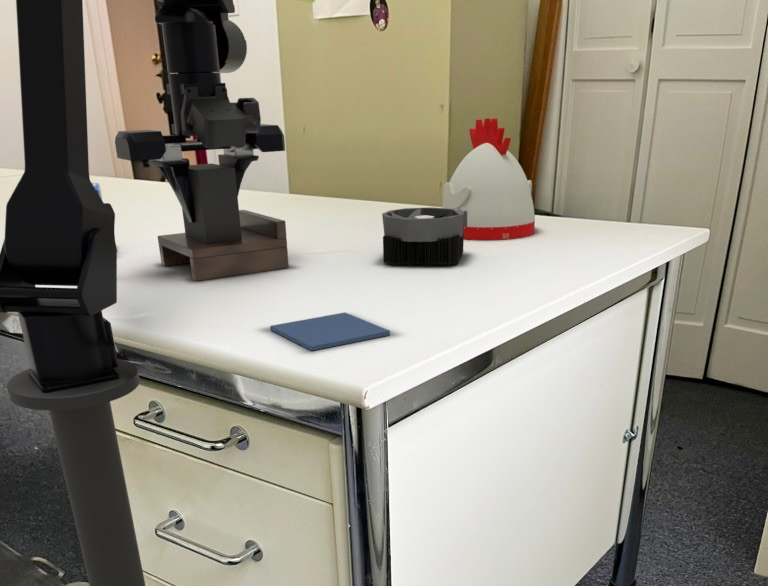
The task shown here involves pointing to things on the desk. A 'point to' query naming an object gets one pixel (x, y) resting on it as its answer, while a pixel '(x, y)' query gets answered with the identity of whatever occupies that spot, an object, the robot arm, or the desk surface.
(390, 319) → the desk surface
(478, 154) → the kitchen timer
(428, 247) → the cpu cooler
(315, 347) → the rubber mat
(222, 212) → the dark grey block
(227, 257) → the desk shelf
